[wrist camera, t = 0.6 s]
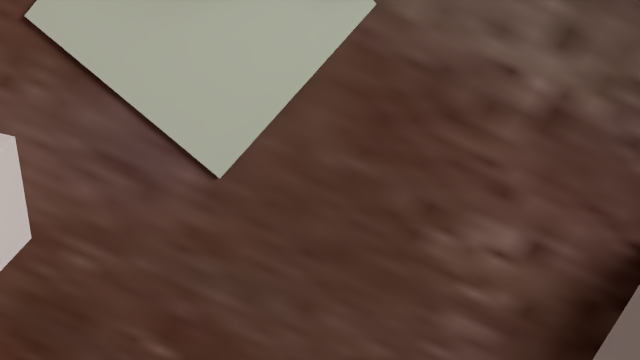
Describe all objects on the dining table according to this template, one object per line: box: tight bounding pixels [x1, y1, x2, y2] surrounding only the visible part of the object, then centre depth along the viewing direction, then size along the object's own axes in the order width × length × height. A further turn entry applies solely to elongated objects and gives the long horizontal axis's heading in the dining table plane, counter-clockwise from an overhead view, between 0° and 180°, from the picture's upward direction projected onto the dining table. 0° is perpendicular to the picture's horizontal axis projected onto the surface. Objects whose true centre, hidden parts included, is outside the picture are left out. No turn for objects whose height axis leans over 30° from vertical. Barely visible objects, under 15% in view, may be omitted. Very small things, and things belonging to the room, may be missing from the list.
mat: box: [24, 0, 376, 178], centre depth 33 cm, size 14×14×1 cm
